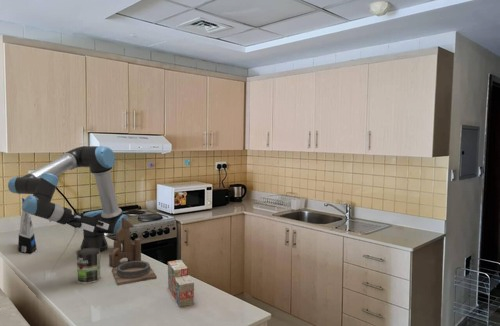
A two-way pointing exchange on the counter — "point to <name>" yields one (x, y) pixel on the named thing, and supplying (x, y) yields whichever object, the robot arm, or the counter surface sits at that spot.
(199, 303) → the counter surface
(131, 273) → the jig
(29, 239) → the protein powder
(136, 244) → the wooden toy
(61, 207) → the robot arm
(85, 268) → the coffee can
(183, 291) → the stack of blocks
